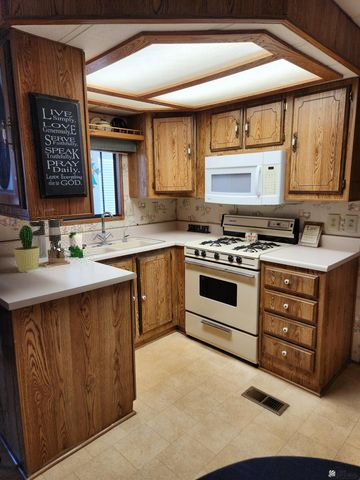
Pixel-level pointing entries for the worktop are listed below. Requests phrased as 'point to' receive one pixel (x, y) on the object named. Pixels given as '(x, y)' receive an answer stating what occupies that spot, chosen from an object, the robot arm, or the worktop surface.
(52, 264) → the oak rack
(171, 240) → the worktop surface
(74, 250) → the milk carton
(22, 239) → the potted cactus
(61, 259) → the walnut board
